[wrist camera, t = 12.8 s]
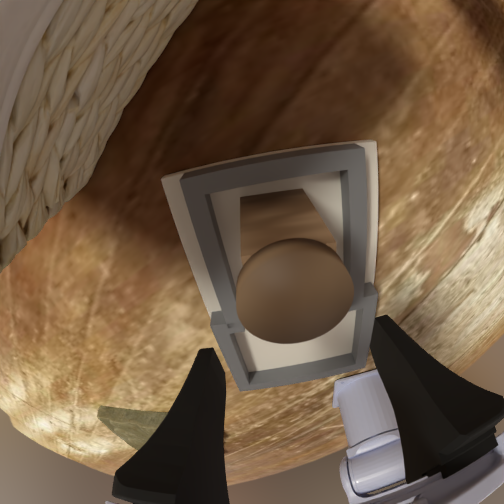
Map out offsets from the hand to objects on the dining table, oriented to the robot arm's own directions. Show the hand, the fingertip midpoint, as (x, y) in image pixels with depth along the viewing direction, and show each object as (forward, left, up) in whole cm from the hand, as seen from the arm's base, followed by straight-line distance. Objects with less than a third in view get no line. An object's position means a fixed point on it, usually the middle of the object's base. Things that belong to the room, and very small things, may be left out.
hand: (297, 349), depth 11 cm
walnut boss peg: (0, -2, -9) cm, 9 cm away
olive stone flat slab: (+23, +35, -11) cm, 43 cm away
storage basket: (+10, -20, -10) cm, 24 cm away
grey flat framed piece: (-1, +5, -10) cm, 11 cm away
